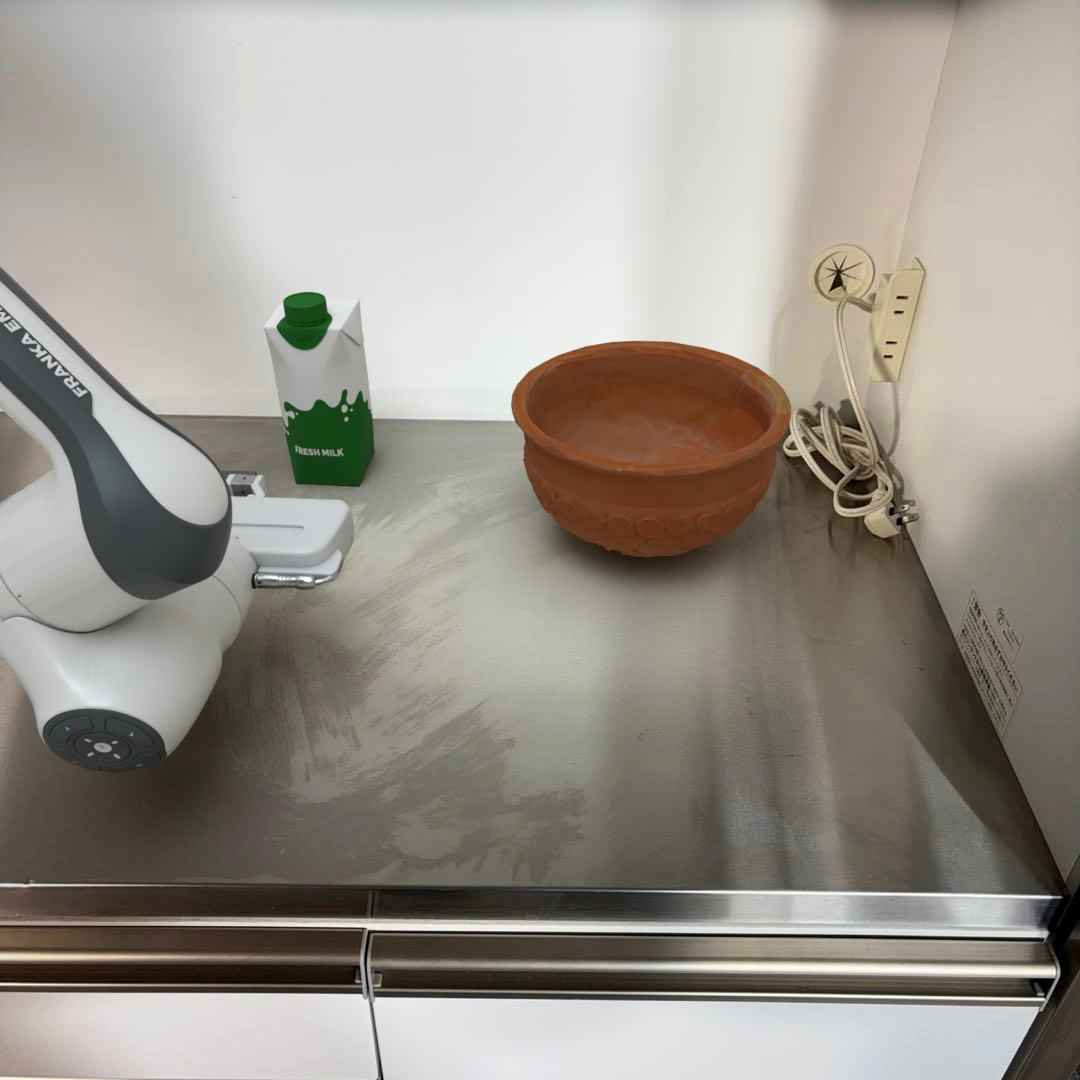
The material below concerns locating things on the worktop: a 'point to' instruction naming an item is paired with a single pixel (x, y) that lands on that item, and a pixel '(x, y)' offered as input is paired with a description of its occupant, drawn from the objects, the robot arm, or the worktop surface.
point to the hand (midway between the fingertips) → (249, 481)
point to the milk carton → (322, 387)
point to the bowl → (649, 443)
